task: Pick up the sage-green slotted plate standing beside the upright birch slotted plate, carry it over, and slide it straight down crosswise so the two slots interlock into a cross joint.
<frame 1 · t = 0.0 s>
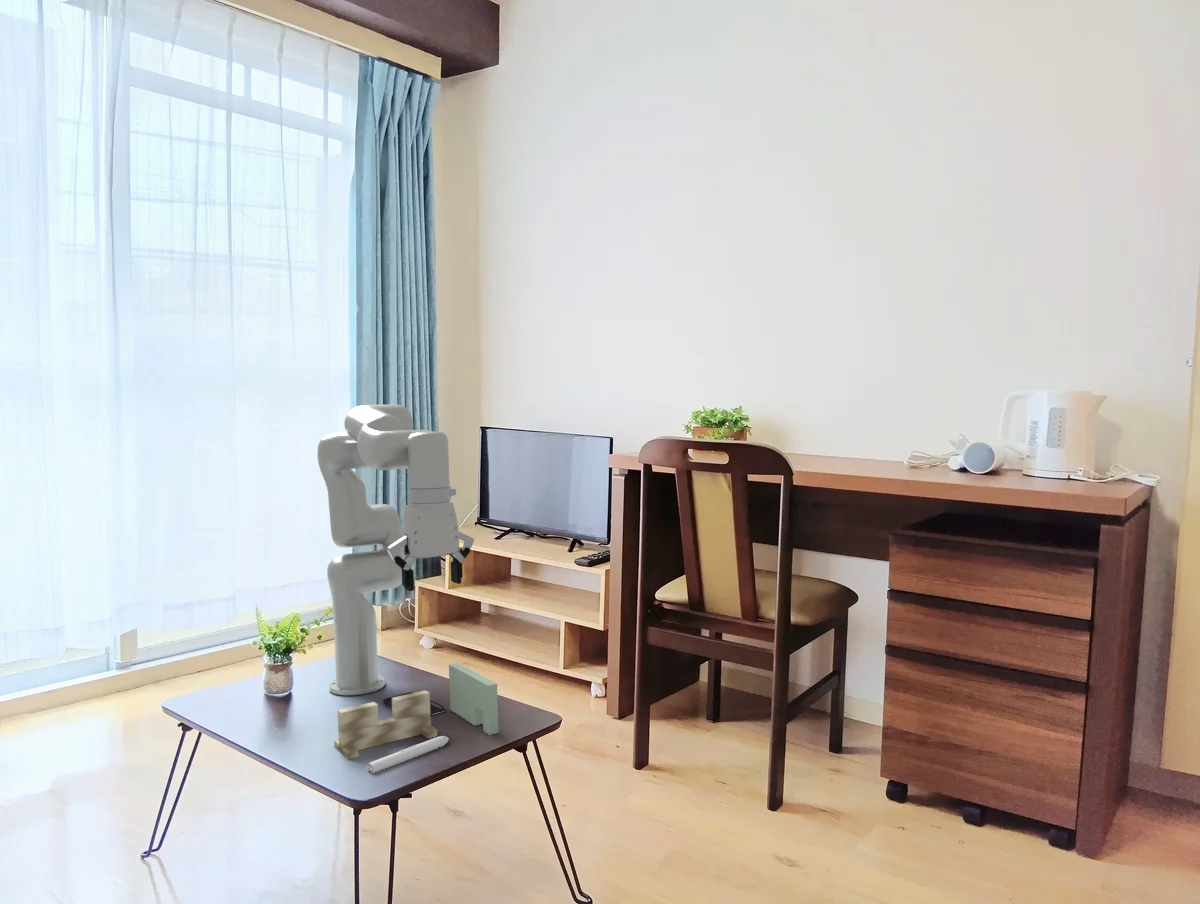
hand: (433, 586, 166), 31 cm above the table, tool pointing down, fingers open, 9 cm apart
phone: (413, 709, 190), on the table
marker: (411, 759, 163), on the table
birch plate: (386, 741, 171), on the table
green plate: (473, 721, 181), on the table
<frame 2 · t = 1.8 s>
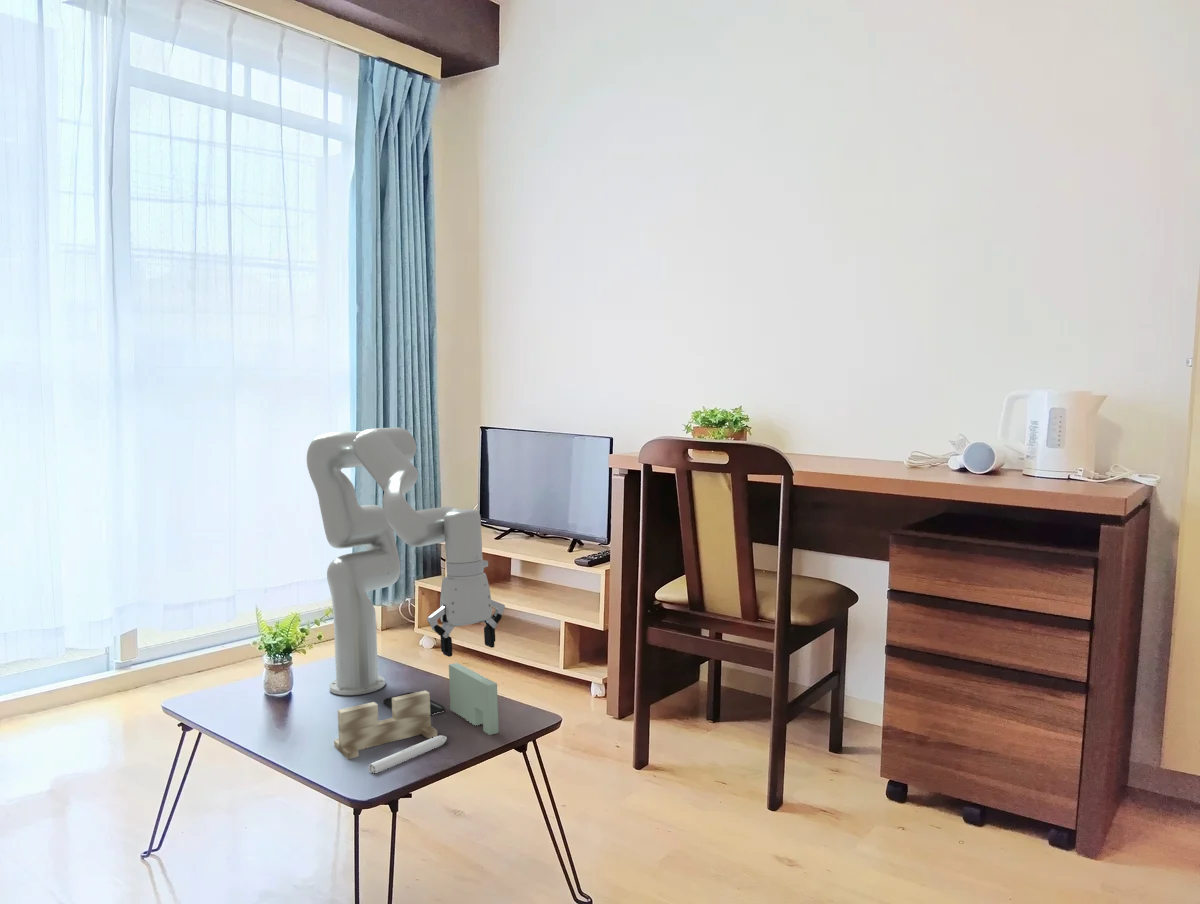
hand: (469, 650, 181), 14 cm above the table, tool pointing down, fingers open, 9 cm apart
nothing on the table moved.
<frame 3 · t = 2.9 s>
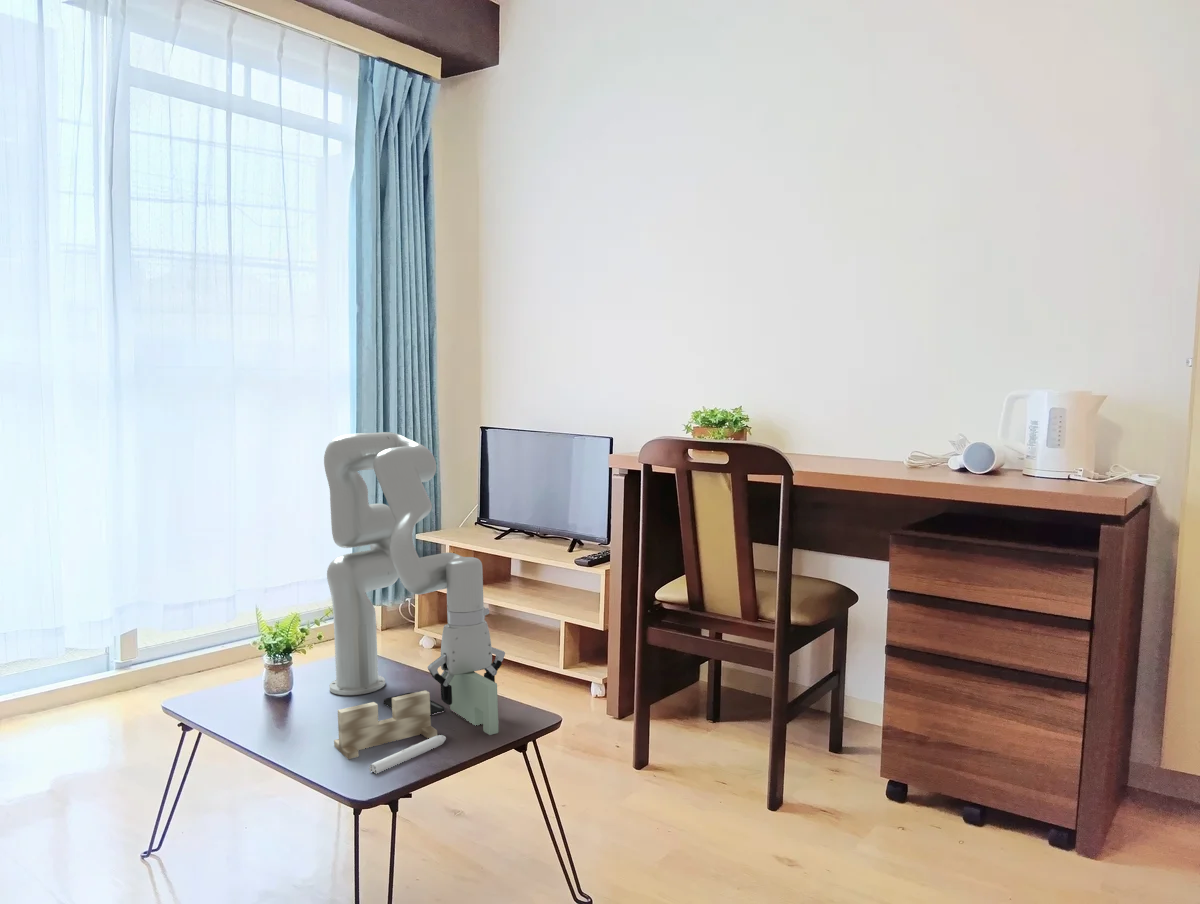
hand: (468, 698, 182), 4 cm above the table, tool pointing down, fingers open, 9 cm apart
nothing on the table moved.
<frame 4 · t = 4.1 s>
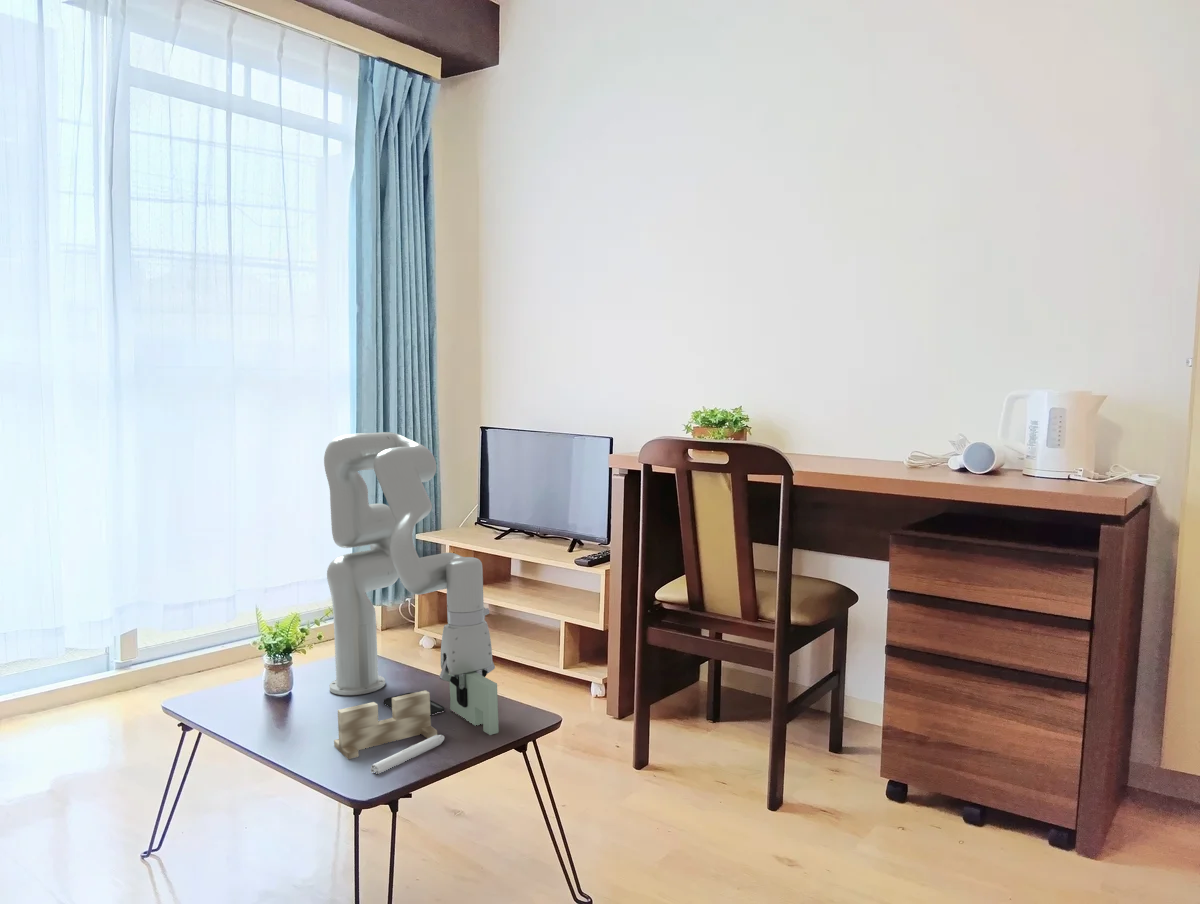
hand: (468, 703, 182), 3 cm above the table, tool pointing down, fingers closed on green plate, 2 cm apart
green plate: (473, 721, 181), on the table, touching gripper
everything else where it was.
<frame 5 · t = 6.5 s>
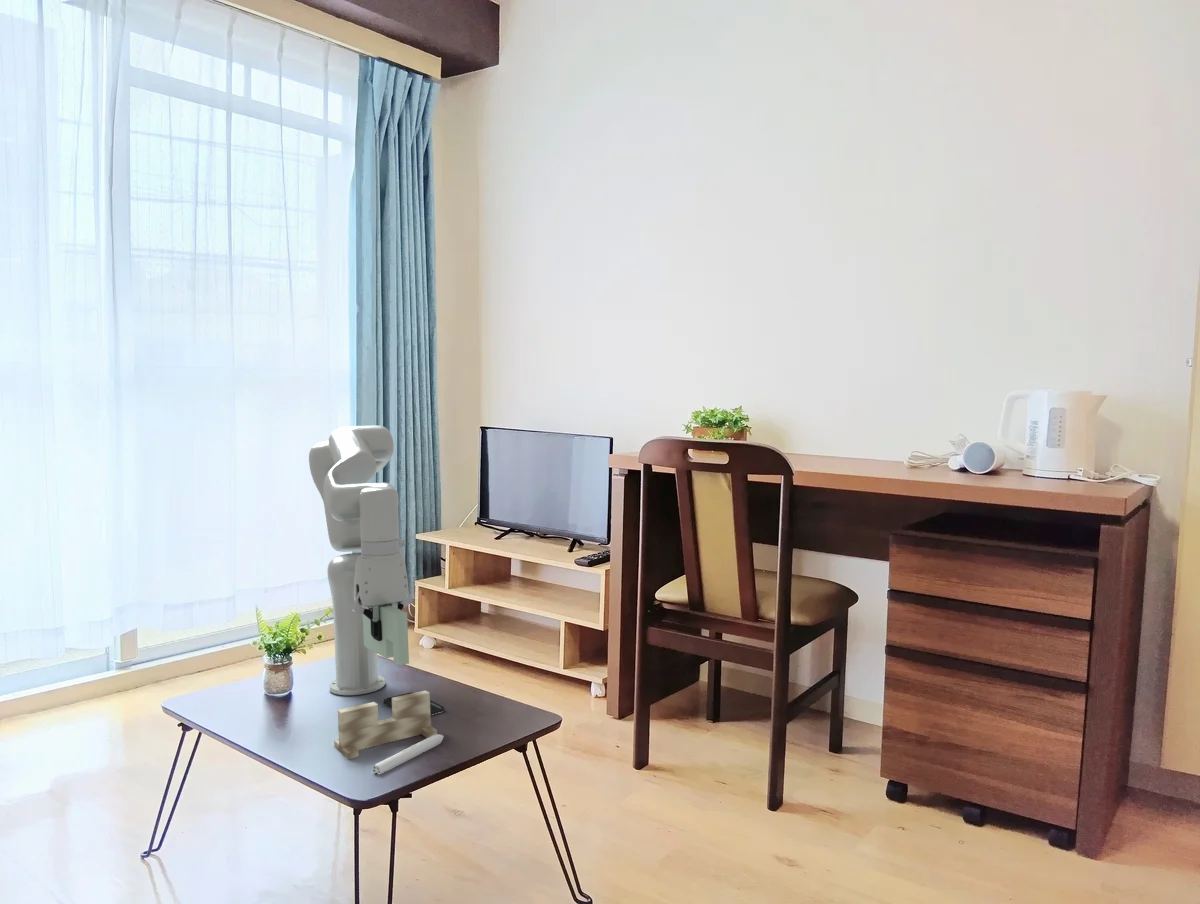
hand: (383, 637, 176), 19 cm above the table, tool pointing down, fingers closed on green plate
green plate: (385, 654, 176), point 16 cm above the table, touching gripper
everything else where it was.
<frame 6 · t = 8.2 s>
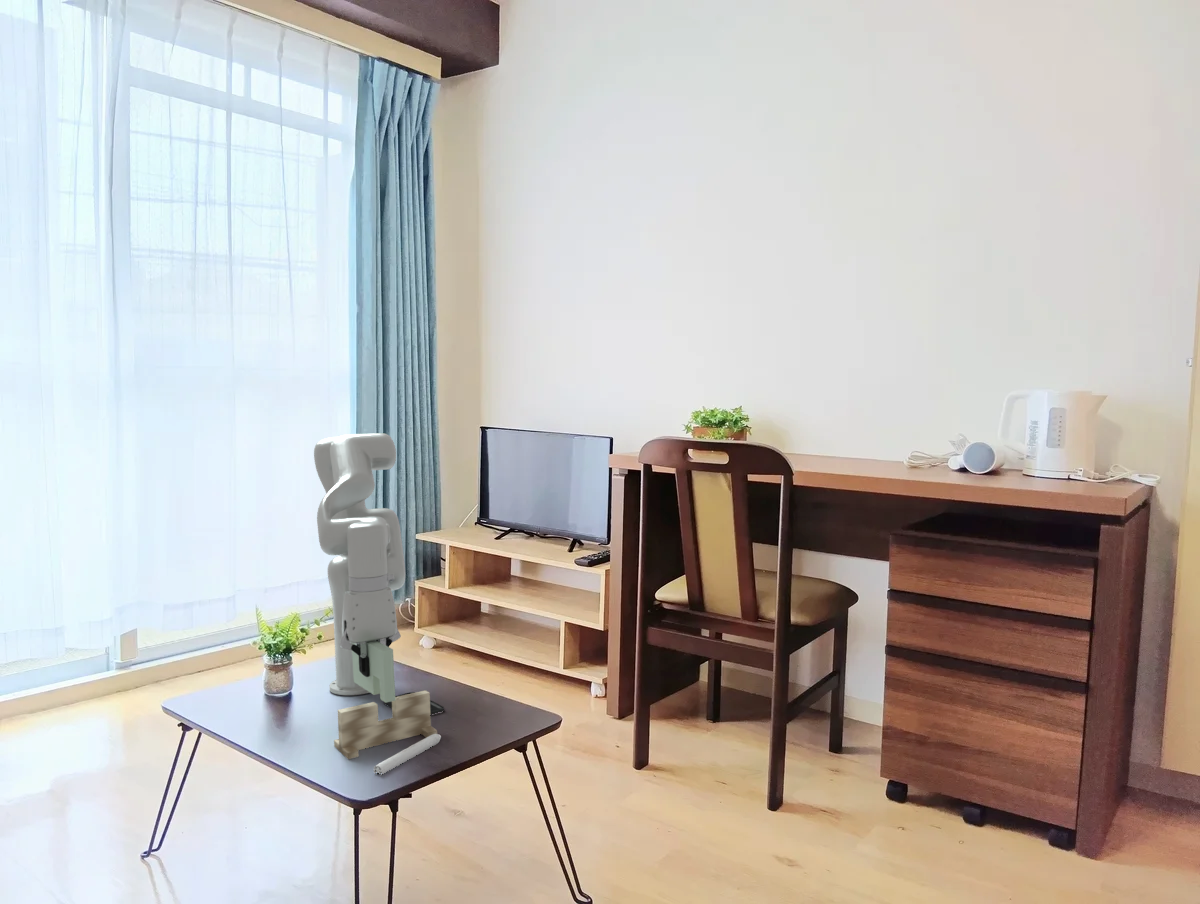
hand: (372, 673, 175), 12 cm above the table, tool pointing down, fingers closed on green plate
green plate: (373, 690, 175), point 9 cm above the table, touching gripper
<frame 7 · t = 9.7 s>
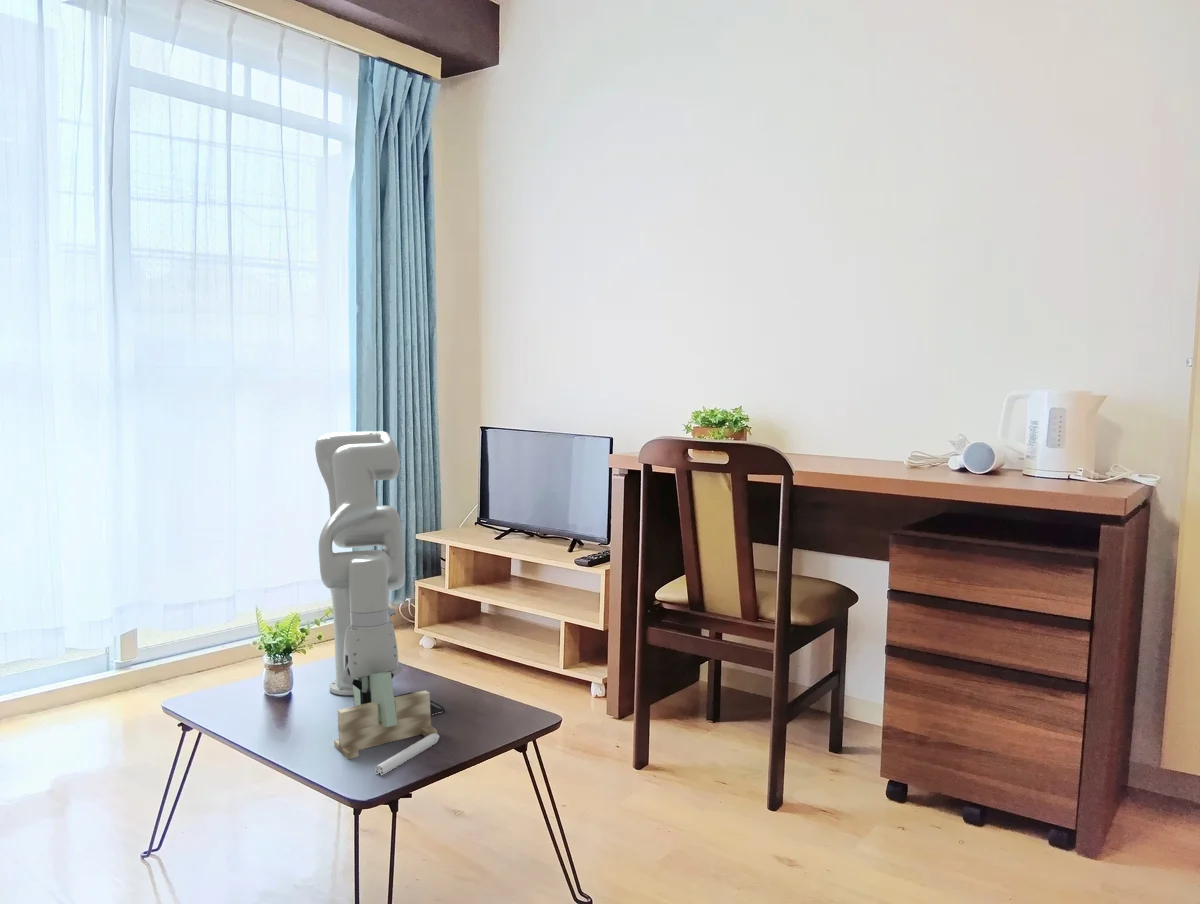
hand: (373, 707, 176), 5 cm above the table, tool pointing down, fingers closed on green plate, 2 cm apart
green plate: (376, 723, 175), point 2 cm above the table, tilted 14°, touching gripper
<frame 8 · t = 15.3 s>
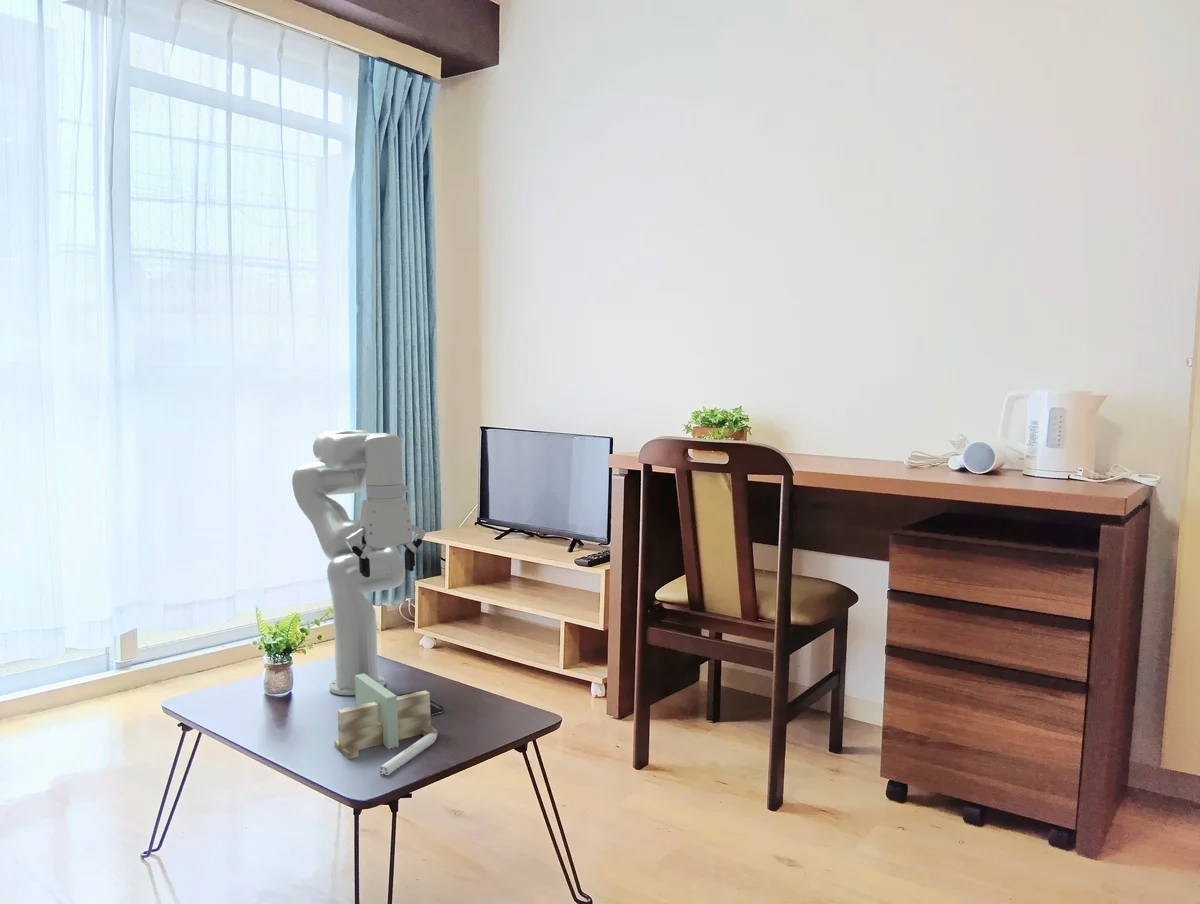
hand: (387, 573, 185), 30 cm above the table, tool pointing down, fingers open, 9 cm apart
green plate: (376, 734, 175), on the table, touching birch plate
at the end: green plate 0.3 cm from the target spot on the birch plate, point 0.0 cm above the birch plate's base; green plate tilted 0°; the gripper is holding nothing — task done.
